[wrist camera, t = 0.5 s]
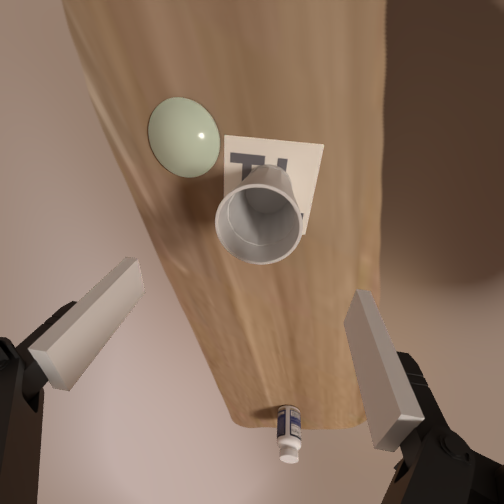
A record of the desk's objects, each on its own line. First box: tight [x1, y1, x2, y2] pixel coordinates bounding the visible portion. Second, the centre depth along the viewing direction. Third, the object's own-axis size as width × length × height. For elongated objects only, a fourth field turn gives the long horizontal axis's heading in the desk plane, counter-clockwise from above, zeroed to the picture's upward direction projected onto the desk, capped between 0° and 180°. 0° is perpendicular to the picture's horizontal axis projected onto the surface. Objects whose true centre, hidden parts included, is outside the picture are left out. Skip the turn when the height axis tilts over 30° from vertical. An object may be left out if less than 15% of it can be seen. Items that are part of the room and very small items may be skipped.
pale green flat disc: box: [148, 97, 220, 178], centre depth 30 cm, size 9×9×1 cm
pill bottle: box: [277, 405, 301, 463], centre depth 56 cm, size 5×5×10 cm
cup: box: [215, 164, 303, 264], centre depth 27 cm, size 8×8×12 cm
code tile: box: [224, 135, 324, 235], centre depth 32 cm, size 12×12×1 cm
